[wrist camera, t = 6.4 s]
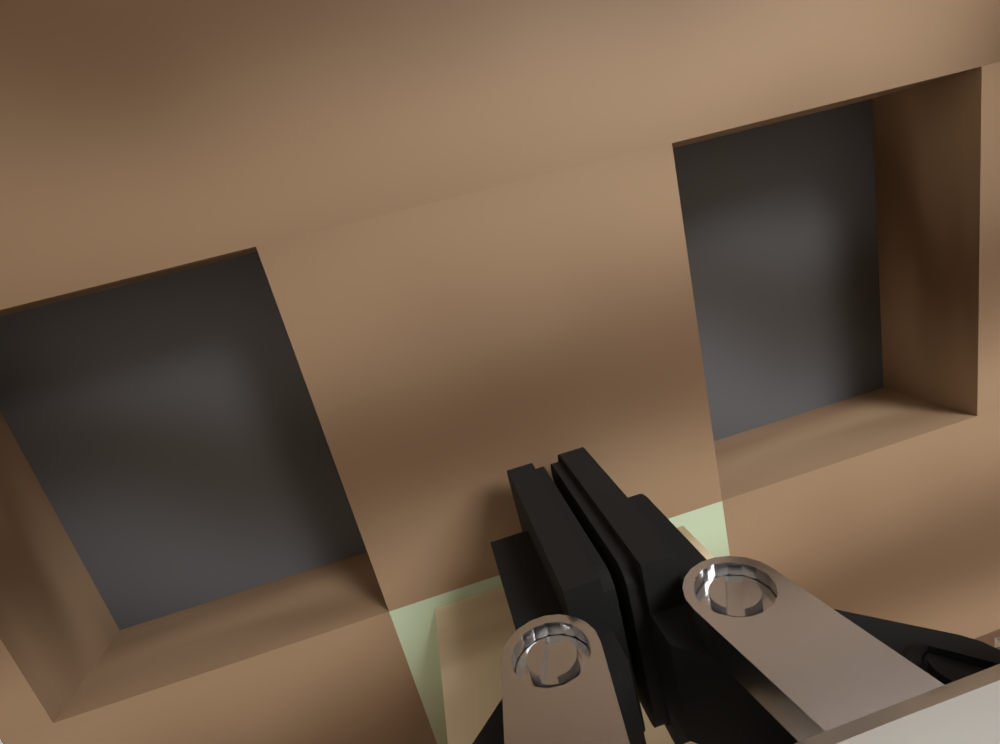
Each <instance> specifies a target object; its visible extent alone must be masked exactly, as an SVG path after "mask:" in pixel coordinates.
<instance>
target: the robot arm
mask: <svg viewBox="0 0 1000 744" xmlns="http://www.w3.org/2000/svg"><path fill="white" fill-rule="evenodd" d="M550 466H551V472H552V476H553V480H552V479H551V477H550V476H549V474H548V472H547V471H546V469H545V468H544V466H543V467H540V468H537V469H535V467H534V465H533V464H532V463H530V464H526V465H523V466H520V467H517V468H514V469H510V470H507V475H508V479H509V483H510V487H511V491H512V494H513V498H514V502H515V506H516V510H517V513H518V517H519V521H520V525H521V528H522V532H520V533H517V534H514V535H511V536H508V537H505V538H502V539H499V540H496V541H493V542H490V543H491V547H492V550H493V554H494V557H495V561H496V564H497V568H498V571H499V575H500V578H501V581H502V585H503V588H504V592H505V595H506V599H507V602H508V606H509V609H510V612H511V616H512V619H513V623H514V626H515V629H516V632H515V633H514V634H513V635H512V636H511V637H510V638H509V639H508V641H507V643H506V645H505V647H504V649H503V651H502V658H501V681H502V699H501V701H500V702H499V704H498V705H497V707H496V708H495V710H494V711H493V713H492V715H491V716H490V718H489V719H488V721H487V722H486V724H485V725H484V727H483V728H482V730H481V731H480V733H479V734H478V736H477V737H476V739H475V740H474V742H473V743H472V744H646V740H645V735H644V732H645V724H644V720H643V715H642V710H641V706H640V703H641V705H642V707H643V709H644V711H645V713H646V715H647V716H648V718H649V720H650V722H651V724H652V725H653V727H654V728H656V727H659V726H662V725H665V727H666V729H667V731H668V732H669V734H670V736H671V738H672V740H673V742H674V743H675V744H685V743H687V742H690V741H692V742H694V743H697V744H1000V637H995V643H994V647H992V646H990V645H988V644H986V643H984V642H982V641H979V640H975V639H972V638H968V637H965V636H962V635H958V634H953V633H948V632H944V631H939V630H934V629H929V628H924V627H919V626H914V625H909V624H905V623H900V622H895V621H890V620H885V619H880V618H875V617H870V616H866V615H861V614H856V613H851V612H846V611H841V610H836V609H832V608H831V607H829V606H828V605H826V604H825V603H823V602H822V601H821V600H819V599H818V598H816V597H815V596H813V595H812V594H810V593H809V592H807V591H806V590H804V589H803V588H801V587H800V586H798V585H797V584H795V583H794V582H793V581H791V580H790V579H788V578H787V577H785V576H784V575H782V574H781V573H779V572H778V571H776V570H775V569H773V568H772V567H770V566H768V565H766V564H764V563H762V562H760V561H757V560H753V559H750V558H746V557H737V556H723V557H714V558H711V559H708V560H707V559H706V558H705V557H704V556H703V555H702V554H701V553H700V552H699V551H698V550H697V549H696V548H695V547H694V546H693V545H692V544H691V542H690V541H689V540H688V539H687V538H686V537H685V536H684V535H683V534H682V533H681V532H680V531H679V530H678V529H677V528H676V527H675V526H674V525H673V524H672V523H671V521H670V520H669V519H668V518H667V517H666V516H665V515H664V514H663V513H662V512H661V511H660V510H659V509H658V508H657V507H656V506H655V505H654V504H653V503H652V502H651V500H650V499H649V498H648V497H647V496H645V495H644V494H637V495H634V496H631V497H627V496H626V495H625V494H624V493H623V492H622V490H621V489H620V488H619V487H618V486H617V485H616V484H615V482H614V481H613V480H612V479H611V478H610V477H609V476H608V474H607V473H606V472H605V471H604V470H603V469H602V468H601V466H600V465H599V464H598V463H597V462H596V461H595V460H594V458H593V457H592V456H591V455H590V454H589V453H588V452H587V450H586V449H585V448H584V447H581V448H578V449H575V450H572V451H568V452H565V453H562V454H559V455H558V462H556V463H553V464H551V465H550ZM553 481H554V482H553Z"/></svg>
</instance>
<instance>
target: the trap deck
mask: <svg viewBox="0 0 1000 744" xmlns="http://www.w3.org/2000/svg"><path fill="white" fill-rule="evenodd" d="M581 447H584V448H585V449H586V450H587V452H588V453H589V454H590V455H591V456H592V457H593V458H594V460H595V461H596V462H597V463H598V464H599V465H600V466H601V468H602V469H603V470H604V471H605V472H606V473H607V474H608V476H609V477H610V478H611V479H612V480H613V481H614V482H615V484H616V485H617V486H618V487H619V488H620V489H621V490H622V492H623V493H624V494H625V495H626V496H627V497H631V496H634V495H637V494H644V495H645V496H647V497H648V498H649V499H650V500H651V502H652V503H653V504H654V505H655V506H656V507H657V508H658V509H659V510H660V511H661V512H662V513H663V514H664V515H665V516H666V517H667V518H668V519H669V520H670V521H671V523H672V524H673V525H674V526H675V527H676V528H677V527H680V526H684V527H685V528H686V529H687V530H688V531H689V532H690V533H691V534H692V535H693V536H694V537H695V538H696V539H697V540H698V541H699V542H700V543H701V544H702V545H703V546H704V547H705V548H706V549H707V550H708V551H709V552H710V553H711V554H712V555H713V556H714V557H723V556H737V557H746V558H750V559H753V560H757V561H760V562H762V563H764V564H766V565H768V566H770V567H772V568H773V569H775V570H776V571H778V572H779V573H781V574H782V575H784V576H785V577H787V578H788V579H790V580H791V581H793V582H794V583H795V584H797V585H798V586H800V587H801V588H803V589H804V590H806V591H807V592H809V593H810V594H812V595H813V596H815V597H816V598H818V599H819V600H821V601H822V602H823V603H825V604H826V605H828V606H829V607H831V608H832V609H836V610H841V611H846V612H851V613H856V614H861V615H866V616H870V617H875V618H880V619H885V620H890V621H895V622H900V623H905V624H909V625H914V626H919V627H924V628H929V629H934V630H939V631H944V632H948V633H953V634H958V635H962V636H965V637H968V638H972V639H975V640H979V641H982V642H984V643H986V644H988V645H990V646H992V647H994V643H995V637H1000V0H0V739H1V741H2V742H3V744H448V740H447V729H446V719H445V708H444V698H443V687H442V677H441V666H440V656H439V645H438V635H437V624H436V613H435V609H436V608H439V607H442V606H445V605H447V604H450V603H453V602H456V601H459V600H462V599H465V598H468V597H471V596H474V595H477V594H480V593H483V592H486V591H489V590H492V589H495V588H498V587H501V586H503V585H502V581H501V578H500V575H499V571H498V568H497V564H496V561H495V557H494V554H493V550H492V547H491V543H490V542H493V541H496V540H499V539H502V538H505V537H508V536H511V535H514V534H517V533H520V532H522V528H521V525H520V521H519V517H518V513H517V510H516V506H515V502H514V498H513V494H512V491H511V487H510V483H509V479H508V475H507V470H510V469H514V468H517V467H520V466H523V465H526V464H530V463H532V464H533V465H534V467H535V469H537V468H540V467H543V466H544V468H545V469H546V471H547V472H548V474H549V476H550V477H551V479H552V480H553V476H552V472H551V466H550V465H551V464H553V463H556V462H558V455H559V454H562V453H565V452H568V451H572V450H575V449H578V448H581ZM553 482H554V481H553Z"/></svg>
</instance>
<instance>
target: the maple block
mask: <svg viewBox="0 0 1000 744" xmlns="http://www.w3.org/2000/svg"><path fill="white" fill-rule="evenodd" d="M677 529H678V530H679V531H680V532H681V533H682V534H683V535H684V536H685V537H686V538H687V539H688V540H689V541H690V542H691V544H692V545H693V546H694V547H695V548H696V549H697V550H698V551H699V552H700V553H701V554H702V555H703V556H704V557H705V558H706V559H707V560H708V559H711V558H714V556H713V555H712V554H711V553H710V552H709V551H708V550H707V549H706V548H705V547H704V546H703V545H702V544H701V543H700V542H699V541H698V540H697V539H696V538H695V537H694V536H693V535H692V534H691V533H690V532H689V531H688V530H687V529H686V528H685V527H684V526H680V527H677ZM435 613H436V624H437V635H438V645H439V656H440V666H441V677H442V687H443V698H444V708H445V719H446V729H447V740H448V744H472V743H473V742H474V740H475V739H476V737H477V736H478V734H479V733H480V731H481V730H482V728H483V727H484V725H485V724H486V722H487V721H488V719H489V718H490V716H491V715H492V713H493V711H494V710H495V708H496V707H497V705H498V704H499V702H500V701H501V699H502V681H501V658H502V651H503V649H504V647H505V645H506V643H507V641H508V639H509V638H510V637H511V636H512V635H513V634H514V633H515V632H516V629H515V626H514V623H513V619H512V616H511V612H510V609H509V606H508V602H507V599H506V595H505V592H504V588H503V586H501V587H498V588H495V589H492V590H489V591H486V592H483V593H480V594H477V595H474V596H471V597H468V598H465V599H462V600H459V601H456V602H453V603H450V604H447V605H445V606H442V607H439V608H436V609H435ZM640 706H641V710H642V715H643V720H644V724H645V732H644V735H645V740H646V744H675V743H674V742H673V740H672V738H671V736H670V734H669V732H668V731H667V729H666V727H665V725H662V726H659V727H656V728H654V727H653V725H652V724H651V722H650V720H649V718H648V716H647V715H646V713H645V711H644V709H643V707H642V705H641V703H640ZM685 744H697V743H694V742H692V741H690V742H687V743H685Z"/></svg>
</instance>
